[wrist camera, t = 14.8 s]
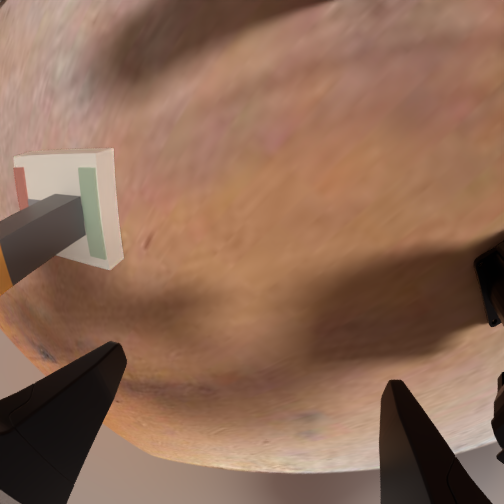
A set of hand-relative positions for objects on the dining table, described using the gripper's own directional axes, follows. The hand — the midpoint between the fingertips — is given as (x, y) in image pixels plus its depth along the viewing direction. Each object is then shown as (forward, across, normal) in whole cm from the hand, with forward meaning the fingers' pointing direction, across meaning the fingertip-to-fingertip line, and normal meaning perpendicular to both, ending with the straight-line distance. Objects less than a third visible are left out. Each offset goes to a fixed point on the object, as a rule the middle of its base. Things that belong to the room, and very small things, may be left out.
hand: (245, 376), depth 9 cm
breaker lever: (+10, +16, -1) cm, 19 cm away
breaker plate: (+13, +18, -1) cm, 22 cm away
